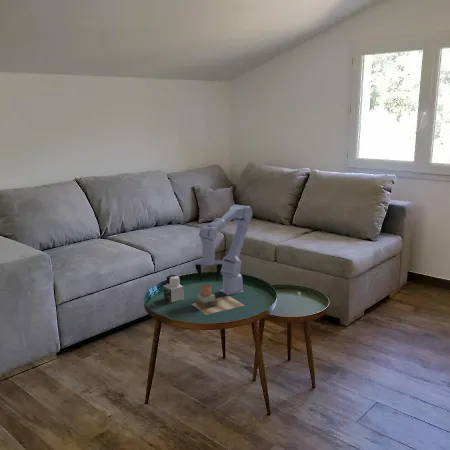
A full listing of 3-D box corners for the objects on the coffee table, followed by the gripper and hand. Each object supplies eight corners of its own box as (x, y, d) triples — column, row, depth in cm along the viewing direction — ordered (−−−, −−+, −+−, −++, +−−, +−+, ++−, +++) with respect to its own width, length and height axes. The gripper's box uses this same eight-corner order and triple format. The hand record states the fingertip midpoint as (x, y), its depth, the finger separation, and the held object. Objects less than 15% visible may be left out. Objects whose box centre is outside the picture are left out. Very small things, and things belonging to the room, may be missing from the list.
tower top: (209, 296, 229) (209, 291, 229) (215, 300, 224) (215, 295, 224) (197, 299, 226) (197, 294, 226) (203, 303, 221) (203, 298, 221)
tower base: (209, 301, 231) (209, 296, 230) (216, 305, 225) (216, 300, 224) (196, 304, 227) (196, 299, 227) (203, 309, 221) (203, 303, 221)
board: (228, 296, 237) (228, 295, 237) (244, 306, 224) (244, 305, 224) (191, 305, 228) (191, 304, 228) (206, 315, 215) (206, 314, 215)
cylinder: (208, 292, 228) (208, 284, 227) (213, 295, 224) (213, 287, 223) (199, 294, 226) (198, 286, 225) (203, 297, 222) (203, 289, 221)
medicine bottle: (163, 299, 236) (162, 275, 233) (176, 296, 240) (175, 272, 237) (171, 303, 230) (170, 279, 228) (184, 300, 234) (183, 276, 232)
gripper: (192, 254, 223) (193, 283, 226) (223, 254, 223) (224, 282, 226) (193, 250, 230) (194, 278, 233) (224, 250, 230) (224, 277, 233)
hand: (209, 280), depth 230 cm, fingers open, 7 cm apart
